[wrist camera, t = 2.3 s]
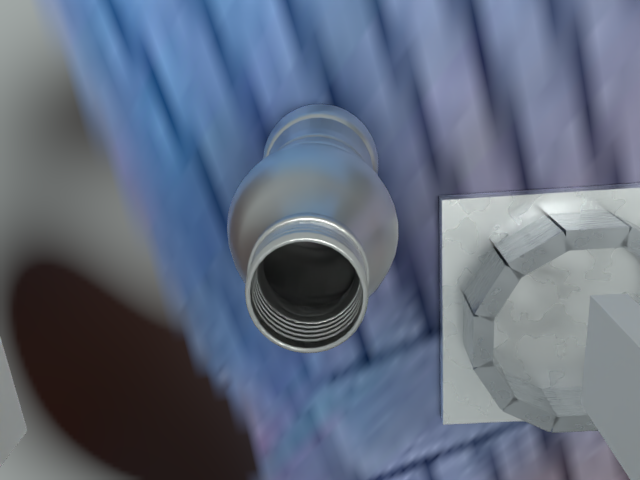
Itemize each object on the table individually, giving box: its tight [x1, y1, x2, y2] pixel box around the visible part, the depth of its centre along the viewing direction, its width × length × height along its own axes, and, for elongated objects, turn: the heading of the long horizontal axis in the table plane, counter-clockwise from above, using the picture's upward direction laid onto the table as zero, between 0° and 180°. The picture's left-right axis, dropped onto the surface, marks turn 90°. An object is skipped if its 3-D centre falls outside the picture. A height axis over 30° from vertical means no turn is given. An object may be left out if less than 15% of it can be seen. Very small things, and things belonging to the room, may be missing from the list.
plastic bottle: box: [227, 104, 398, 353], centre depth 27 cm, size 6×7×20 cm
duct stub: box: [439, 183, 640, 433], centre depth 37 cm, size 16×16×4 cm
